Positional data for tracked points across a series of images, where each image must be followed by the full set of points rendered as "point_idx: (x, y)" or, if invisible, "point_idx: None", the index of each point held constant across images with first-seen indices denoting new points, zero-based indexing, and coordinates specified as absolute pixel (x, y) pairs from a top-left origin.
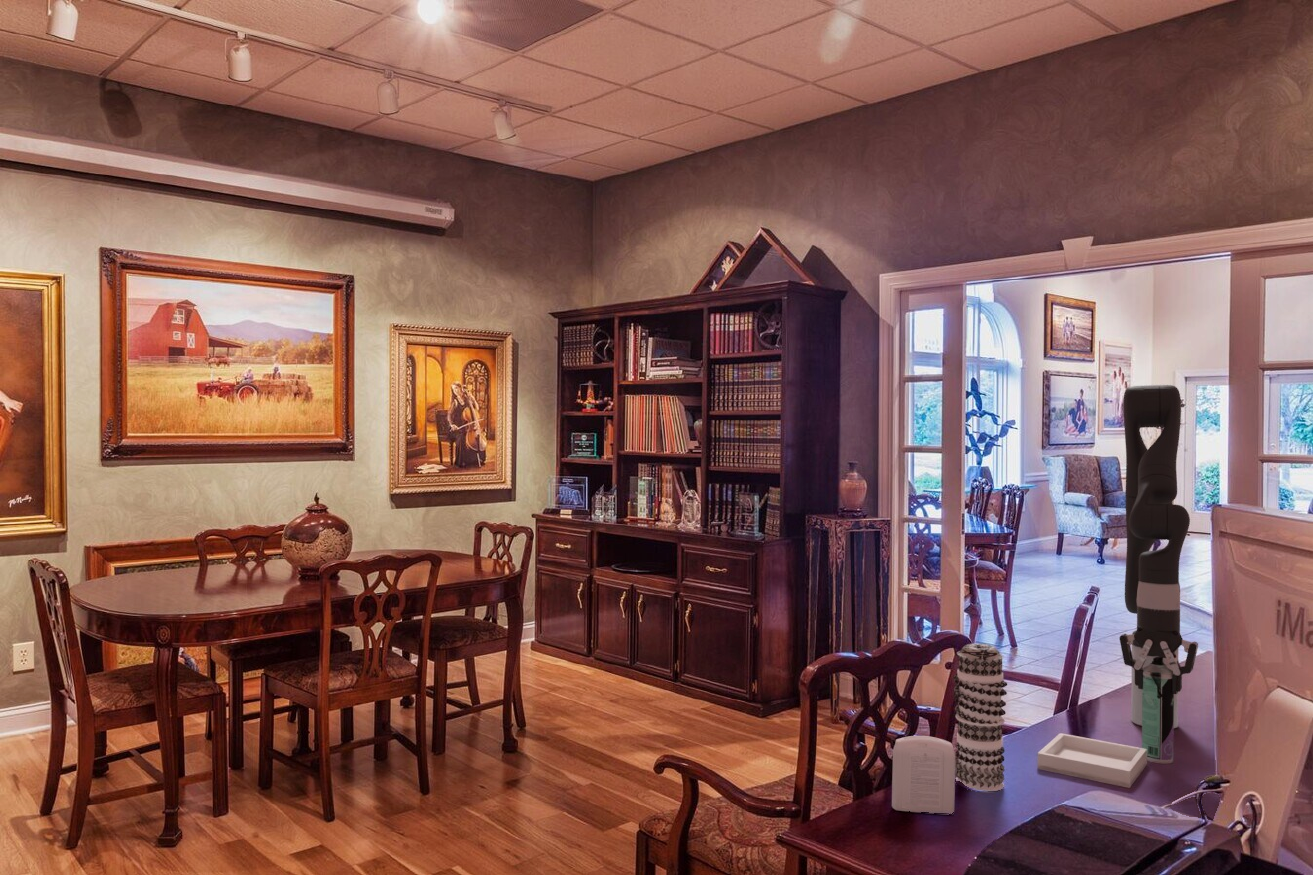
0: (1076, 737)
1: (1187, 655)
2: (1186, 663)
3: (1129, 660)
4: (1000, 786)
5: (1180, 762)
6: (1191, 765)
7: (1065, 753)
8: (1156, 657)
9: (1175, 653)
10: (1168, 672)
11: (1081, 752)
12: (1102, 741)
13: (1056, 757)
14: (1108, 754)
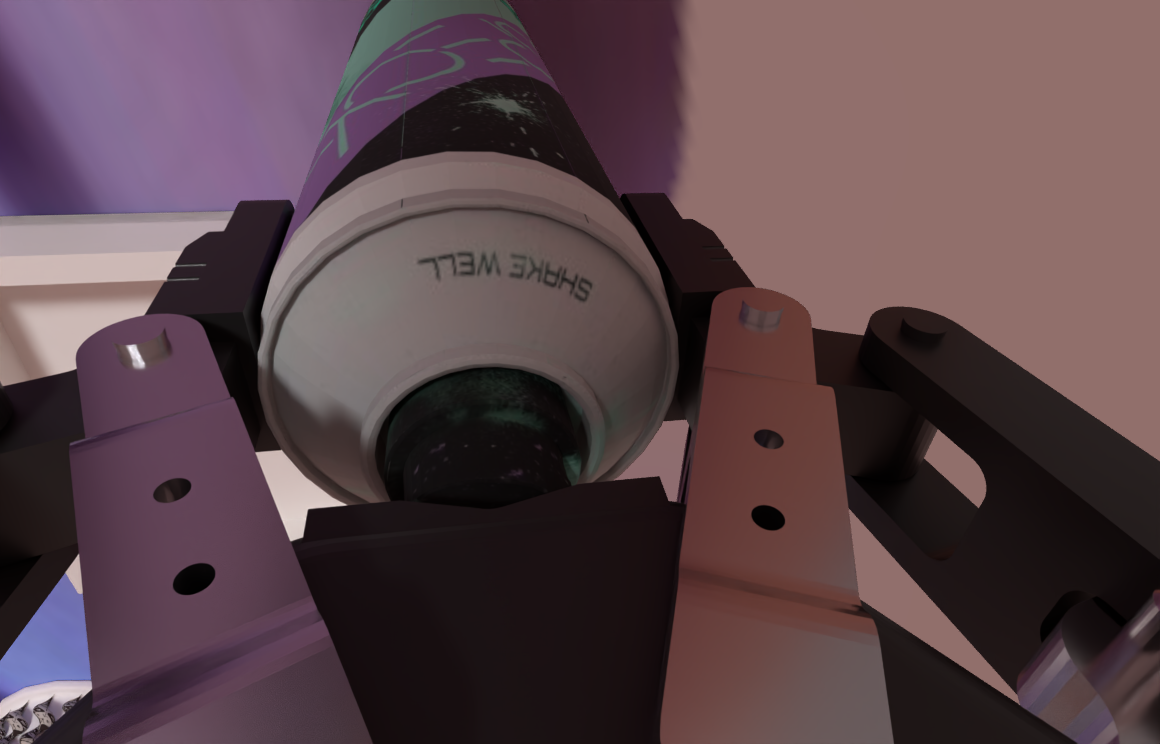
0: (16, 285)
1: (993, 664)
2: (902, 550)
3: (43, 582)
4: None
5: (565, 44)
6: (621, 64)
7: (70, 367)
8: (449, 491)
9: (833, 484)
10: (624, 454)
11: (114, 302)
12: (174, 262)
13: None
14: None
